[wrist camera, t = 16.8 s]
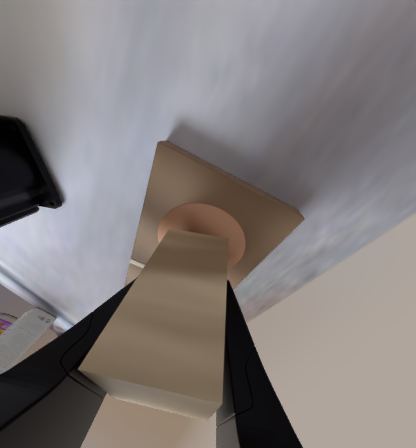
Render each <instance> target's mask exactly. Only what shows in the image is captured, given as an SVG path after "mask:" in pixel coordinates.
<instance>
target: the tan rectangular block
mask: <svg viewBox="0 0 416 448" xmlns="http://www.w3.org/2000/svg"><path fill="white" fill-rule="evenodd" d="M228 241H229V238H224V237H218V236H212V235H206V234H200V233H194V232H188V231H182V230H176V229H171V228H169V229H168V231H167V233H166V234H165V236H164V237H163V239H162V240H161V242H160V243H159V245H158V246H157V248H156V250H155V251H154V253H153V254H152V256H151V257H150V259H149V260H148V262H147V263H146V265H145V266H144V268H143V270H142V271H141V273H140V274H139V276H138V277H137V279H136V280H135V282H134V283H133V285H132V287H131V288H130V290H129V291H128V293H127V294H126V296H125V297H124V299H123V300H122V302H121V303H120V305H119V307H118V308H117V310H116V311H115V313H114V314H113V316H112V317H111V319H110V320H109V322H108V323H107V325H106V327H105V328H104V330H103V331H102V333H101V334H100V336H99V337H98V339H97V340H96V342H95V344H94V345H93V347H92V348H91V350H90V351H89V353H88V354H87V356H86V357H85V359H84V360H83V362H82V364H81V365H80V367H79V368H78V370H79V371H80V372H82V373H83V374H84V375H85V376H87V377H88V378H89V379H90V380H92V381H93V382H94V383H95V384H97V385H98V386H99V387H100V388H102V389H103V390H104V391H105V392H107V393H108V394H109V395H110V396H112V397H113V398H116V399H120V400H124V401H128V402H132V403H136V404H140V405H144V406H148V407H152V408H156V409H160V410H164V411H168V412H172V413H176V414H180V415H185V416H188V417H192V418H196V419H200V420H204V421H207V420H208V419H209V418H210V417H211V416H212V415H213V414H214V413H215V412H216V410H217V409H218V408H219V407H220V406H221V405H222V396H223V370H224V344H225V318H226V292H227V267H228Z"/></svg>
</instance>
